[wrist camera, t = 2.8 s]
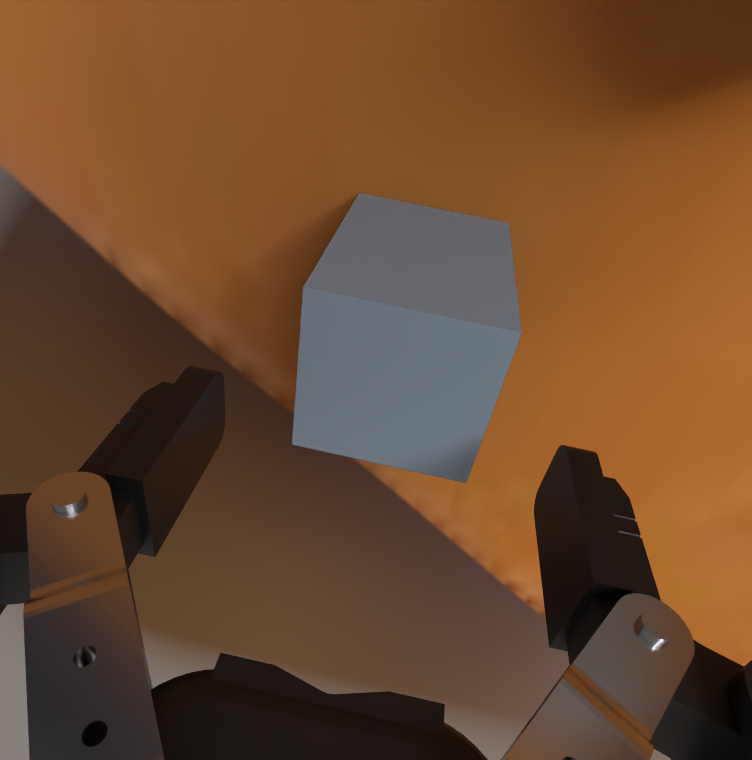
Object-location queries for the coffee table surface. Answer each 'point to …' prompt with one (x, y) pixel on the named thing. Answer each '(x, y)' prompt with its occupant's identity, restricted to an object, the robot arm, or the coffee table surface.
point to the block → (406, 337)
